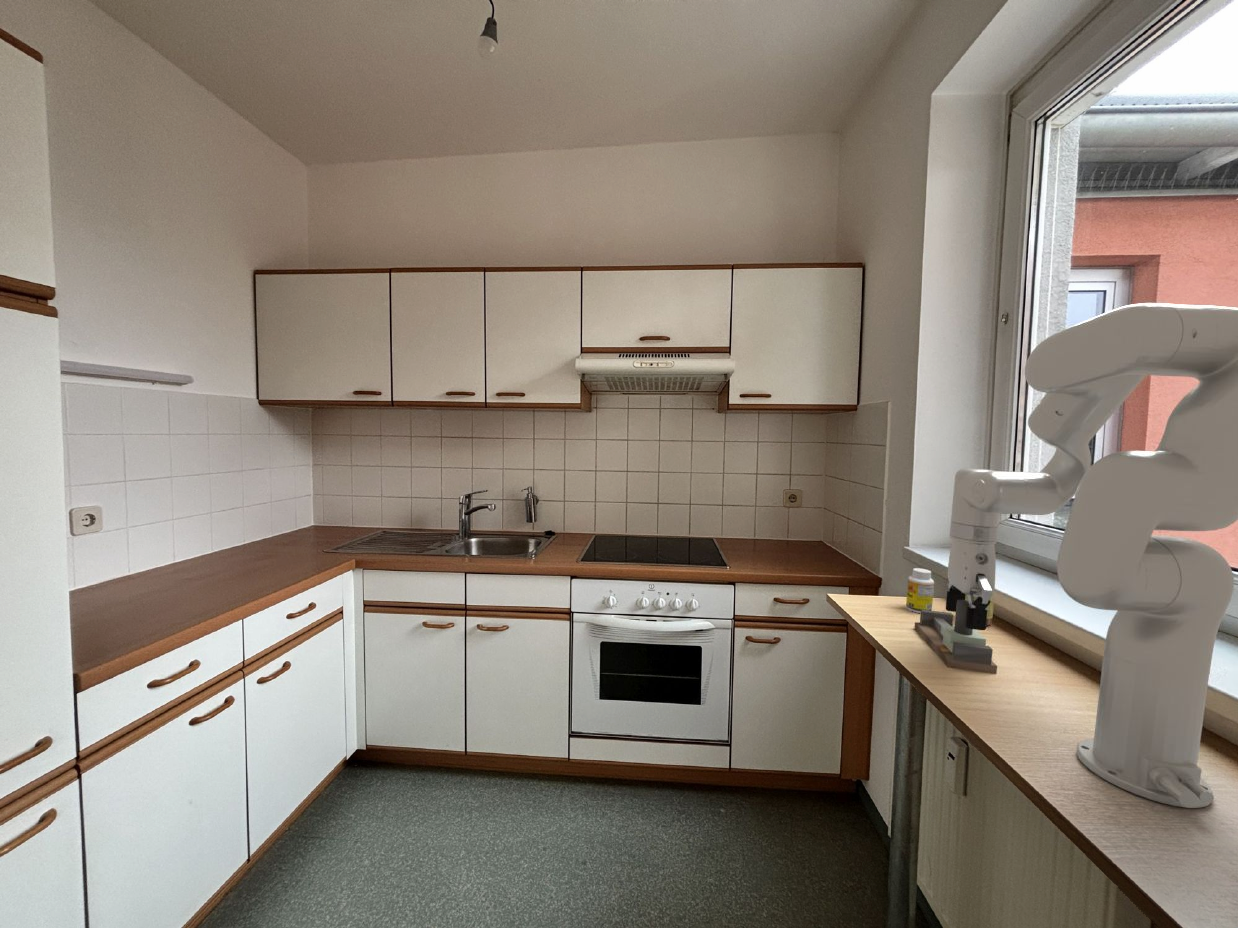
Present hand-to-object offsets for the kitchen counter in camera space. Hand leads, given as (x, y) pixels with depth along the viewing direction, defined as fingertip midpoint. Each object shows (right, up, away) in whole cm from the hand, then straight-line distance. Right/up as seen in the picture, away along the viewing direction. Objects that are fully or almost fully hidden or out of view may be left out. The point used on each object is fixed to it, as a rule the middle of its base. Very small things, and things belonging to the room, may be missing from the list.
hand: (964, 619), depth 103 cm
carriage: (0, -6, 0) cm, 6 cm away
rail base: (+1, -8, +5) cm, 9 cm away
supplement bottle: (+7, -6, +28) cm, 30 cm away
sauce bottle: (+17, -7, +22) cm, 29 cm away
